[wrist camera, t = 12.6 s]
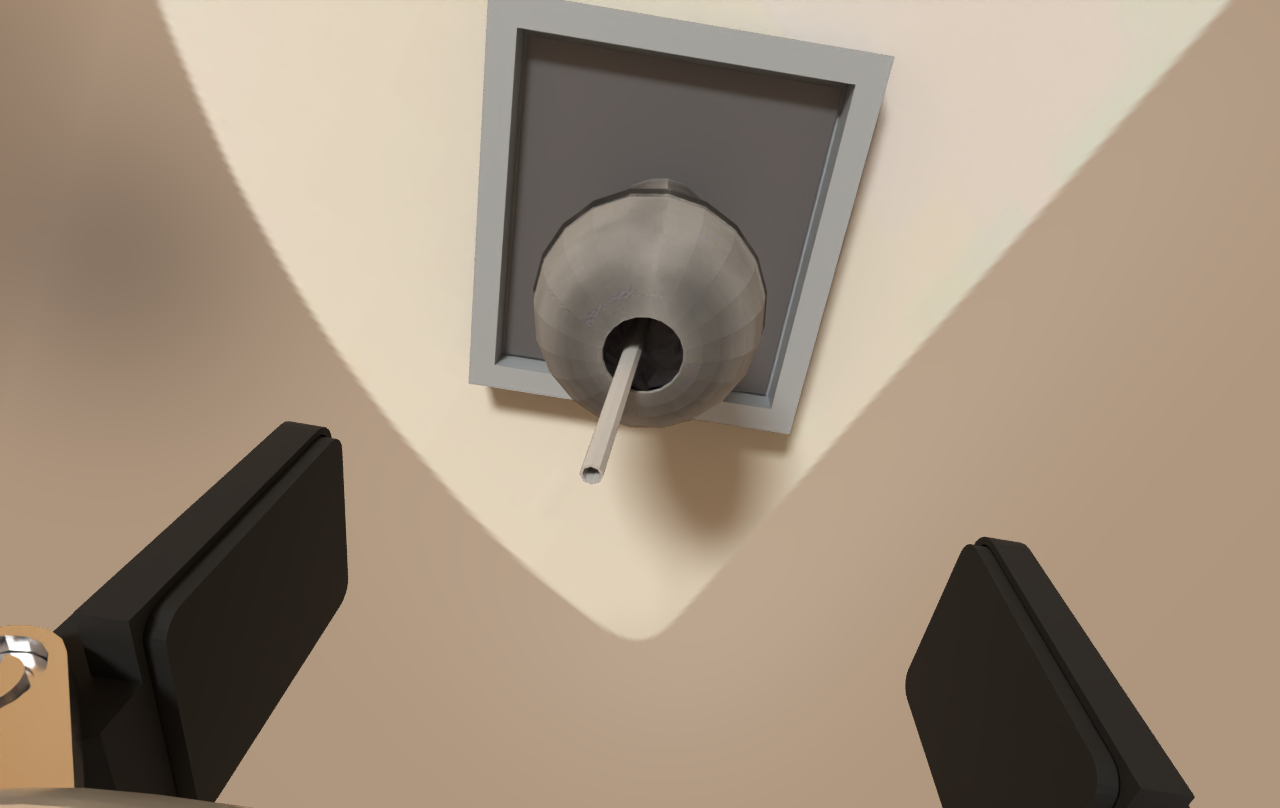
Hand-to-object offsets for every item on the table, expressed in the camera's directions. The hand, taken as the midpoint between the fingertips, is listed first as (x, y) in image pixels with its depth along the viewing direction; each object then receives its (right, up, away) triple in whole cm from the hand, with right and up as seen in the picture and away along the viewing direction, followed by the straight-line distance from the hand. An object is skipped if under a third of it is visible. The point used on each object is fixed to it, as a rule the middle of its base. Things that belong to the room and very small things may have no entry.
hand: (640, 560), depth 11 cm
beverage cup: (+1, +10, +22) cm, 24 cm away
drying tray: (+1, +11, +23) cm, 25 cm away
